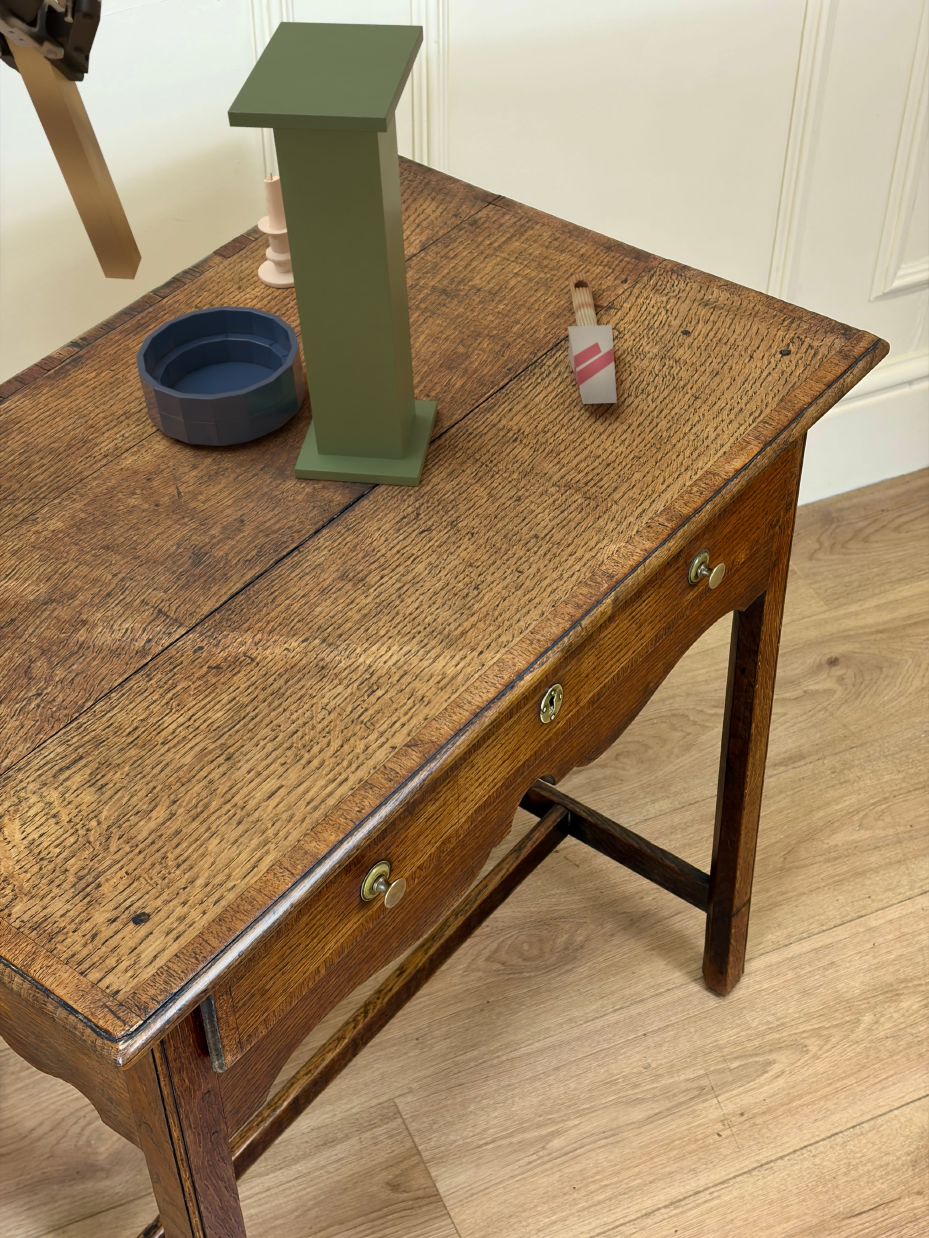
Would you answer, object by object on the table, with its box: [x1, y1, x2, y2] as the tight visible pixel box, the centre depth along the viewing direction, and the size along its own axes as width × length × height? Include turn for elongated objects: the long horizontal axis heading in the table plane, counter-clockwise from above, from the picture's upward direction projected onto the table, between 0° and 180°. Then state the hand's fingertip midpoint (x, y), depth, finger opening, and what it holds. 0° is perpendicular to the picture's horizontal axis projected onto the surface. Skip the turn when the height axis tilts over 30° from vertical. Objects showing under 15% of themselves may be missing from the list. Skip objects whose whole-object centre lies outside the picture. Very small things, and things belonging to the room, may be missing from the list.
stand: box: [227, 21, 439, 487], centre depth 96 cm, size 10×14×31 cm
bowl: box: [135, 305, 307, 447], centre depth 109 cm, size 13×13×6 cm
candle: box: [257, 172, 295, 289], centre depth 122 cm, size 5×5×10 cm
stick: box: [4, 35, 143, 280], centre depth 77 cm, size 21×2×2 cm
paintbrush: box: [567, 272, 618, 405], centre depth 114 cm, size 4×3×20 cm
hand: (56, 63), depth 74 cm, fingers closed on stick, 2 cm apart
